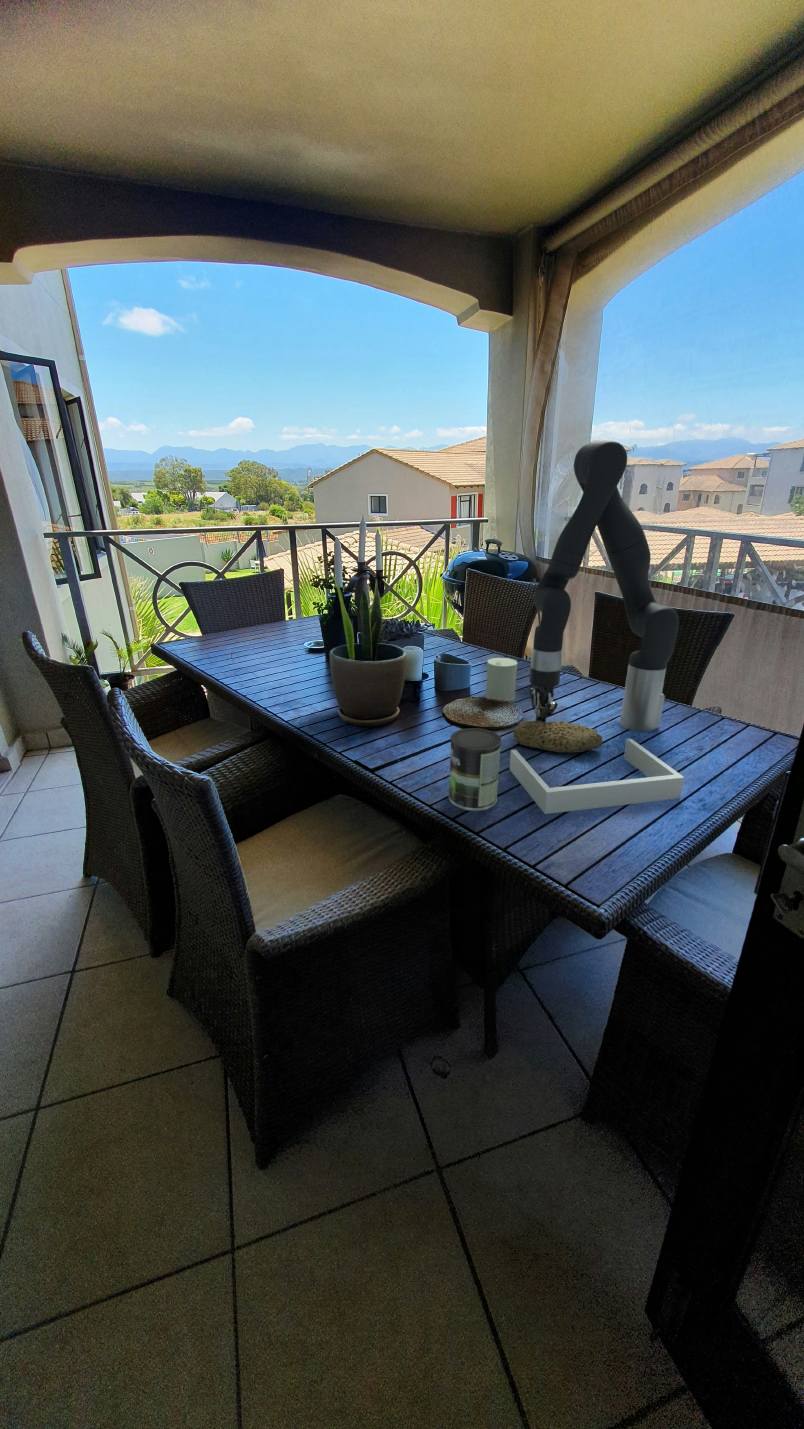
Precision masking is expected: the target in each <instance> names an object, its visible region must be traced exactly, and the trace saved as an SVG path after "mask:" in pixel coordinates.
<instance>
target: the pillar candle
mask: <svg viewBox="0 0 804 1429" xmlns="http://www.w3.org/2000/svg"><path fill="white" fill-rule="evenodd" d="M486 663H487V665H486V669H487V670H486V683H485V685H486V687H485V695H484V696H485V699H487V698H488V699H497V700H504V701H508V702H507V703H509V702H510V703H511V702H512V701H514V700H515V699H516V682H517V670H518V669H517V668H518V661H517V660H515V659H513V658H509V657H493V658H489V659H487V661H486ZM488 699H487V700H488Z"/></svg>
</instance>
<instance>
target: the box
mask: <svg viewBox="0 0 804 1429" xmlns="http://www.w3.org/2000/svg"><path fill="white" fill-rule="evenodd" d="M623 758H625V759H624V760H626V761H627V762H628V763H629V762H630V763H629V764H630V765H631V766H633V765H634V766H635V768H636V767H637V768H638V769H639V770H640V771H639V772H641V771H642V772H643V773H644V774H645V775H644V774H643V773H642V772H641V773H642V774H643V775H644V776H646V775H647V776H648V777H647V776H646V777H640V778H638V777H637V778H631V779H630V778H629V779H622V780H621V779H620V780H611V781H604V782H603V781H601V782H595V783H584V784H575V785H574V784H573V785H565V786H556V787H550V786H549V785H548V784H547V783H546V782H545V781H544V780H543V779H542V778H541V776H540V775H539V774H538V773H537V772H536V771H535V769H533V767H532V766H531V765H530V764H529V763H528V762H527V760H526V759H525V758H524V757H523V756H522V754H520V753H519V751H518V750H517V749H511V750H510V758H509V771H510V772H511V773H512V774H513V776H514V777H515V778H516V780H517V781H518V782H519V783H520V785H521V786H522V788H523V789H525V791H526V792H527V793H528V795H529V796H530V797H531V798H532V800H533V801H534V802H535V804H536V805H537V806H538V807H539V808H540V810H541V811H542V812H543V813H544V814H545V815H547V814H556V813H564V812H565V813H567V812H573V811H582V810H591V809H599V808H609V807H616V806H617V807H618V806H626V805H633V804H634V805H635V804H642V803H652V802H661V801H662V802H663V801H668V799H670V800H676V799H675V798H679V799H681V796H682V790H683V787H684V782H685V776H683V775H682V774H680V773H679V772H678V771H676V770H675V769H674V768H672V767H671V766H669V765H668V764H667V763H665V762H664V761H662V760H661V759H660V758H659V757H658V756H656V755H654V753H651V752H650V751H649V750H647V749H646V748H645V747H643V746H642V745H641V744H639V743H638V742H636V741H635V740H634V739H632V738H627V739H626V741H625V747H624V754H623ZM634 766H633V767H634ZM637 768H636V769H637ZM638 769H637V770H638Z"/></svg>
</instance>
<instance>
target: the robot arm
mask: <svg viewBox="0 0 804 1429" xmlns="http://www.w3.org/2000/svg"><path fill="white" fill-rule="evenodd" d="M627 464H628V453H627V451H626V449H625V447H624V445H623V444H621V442H619V441H616V440H603V441H602V440H601V441H594V442H590V443H586V444H584V445H582V446H581V447H580V448H579V449H578V451H577V452H576V454H575V457H574V462H573V470H574V476H575V478H576V480H577V482H578V485H579V486H580V489H581V490H582V495H581V499H580V500H579V503H578V504H577V506H576V509H575V511H574V512H573V513H572V515H571V517H570V518H569V520H568V521H567V523H566V524H565V526H564V528H563V529H562V531H561V532H560V534H559V537H558V539H557V541H556V544H555V546H554V549H553V552H552V555H551V559H550V562H549V565H548V567H547V568H546V570H545V572H544V573H543V576H542V577H541V578H540V581H539V582H538V585H537V587H536V589H535V592H534V597H533V601H534V602H533V604H534V606H535V608H536V609H537V611H539V612H541V617H540V618H541V619H540V624H538V625H539V626H538V625H536V626H535V628H536V629H534V635H533V646H532V653H531V659H530V670H529V683H530V684H531V685H532V686H533V687H532V688H531V687H530V688H529V691H528V692H529V696H530V701H531V707H532V710H534V713H535V721H541V722H543V723H547V721H546V720H547V717H552V715H553V713H554V712H555V710H556V709H557V708H558V702H557V701H555V702H554V695H555V694H554V688H555V687H557V686H559V685H560V682H561V681H560V680H561V672H562V662H563V650H562V649H563V645H564V644H563V643H564V642H563V641H564V631H565V629H566V627H567V624H568V620H569V617H570V614H571V608H572V601H571V596H570V594H569V593H568V592H567V591H566V590H565V589H566V587H567V585H568V583H569V582H570V580H571V579H574V578H576V577H577V575H578V573H579V571H580V568H581V565H582V563H583V560H584V557H585V555H586V552H587V549H588V546H589V544H590V541H591V538H592V536H593V534H594V532H595V530H596V527H597V530H598V532H599V535H600V538H601V541H602V543H603V547H604V550H605V552H606V555H607V558H608V561H609V564H610V566H611V568H612V571H613V574H614V576H615V579H616V582H617V585H618V587H619V588H618V589H619V590H620V593H621V596H622V600H623V604H624V608H625V609H624V610H625V613H626V618H627V621H628V625H629V627H630V629H631V631H632V632H633V633H634V634H635V635H636V636H637V637H640V638H642V643H641V645H640V649H639V650H636V651H633V652H631V653H630V654H629V658H628V659H629V660H628V666H627V672H626V673H627V674H626V678H625V684H624V685H625V687H624V692H623V698H622V705H621V711H620V716H619V717H620V719H619V724H620V726H622V727H623V728H625V729H628V730H630V731H634V732H641V733H642V732H643V733H644V732H645V733H647V731H648V732H652V731H654V730H656V729H659V728H660V723H661V720H662V714H663V709H664V708H663V707H664V702H665V698H666V696H665V694H664V693H663V688H664V684H665V676H666V672H667V667H668V663H669V661H670V659H671V657H672V655H673V654H674V649H675V645H676V642H677V641H676V640H677V636H678V633H679V627H680V619H679V615H678V613H677V611H676V610H675V609H674V608H672V607H670V606H667V605H664V604H660V603H659V602H657V600H656V599H655V598H654V597H655V596H654V595H653V593H652V589H651V587H650V584H649V583H650V582H649V571H650V566H651V551H650V546H649V544H648V540H647V536H646V534H645V533H646V532H645V531H644V528H643V527H642V525H641V524H642V523H640V521H639V520H638V519H637V517H636V516H635V513H633V512H632V510H631V509H630V507H628V505H627V503H626V502H625V501H624V499H623V498H622V497H623V496H622V495H621V494H620V491H619V488H618V485H619V483H620V481H621V479H622V477H623V475H624V473H625V471H626V468H627Z"/></svg>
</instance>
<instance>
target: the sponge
mask: <svg viewBox="0 0 804 1429" xmlns="http://www.w3.org/2000/svg"><path fill="white" fill-rule="evenodd" d="M513 738H514V741H515V742H516V744H519V745H522V746H526V747H529V748H533V749H537V748H538V749H540V750H545V751H549V752H551V751H552V752H556V753H571V754H572V753H578V752H589V751H593V750H596V749H599V748H600V747H602V746H603V744H602V743H603V739H604V737H603V736H602V735H600V734H599V733H598V731H597V730H595V729H593V728H592V727H588V726H585V725H580V724H576V723H572V722H566V721H561V720H560V721H549V722H546V723H543V722H541V721H536V720H531V721H530V720H529V721H528V720H525V721H520V722H519V723H518V724H517V726H516V727H514V729H513Z"/></svg>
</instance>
